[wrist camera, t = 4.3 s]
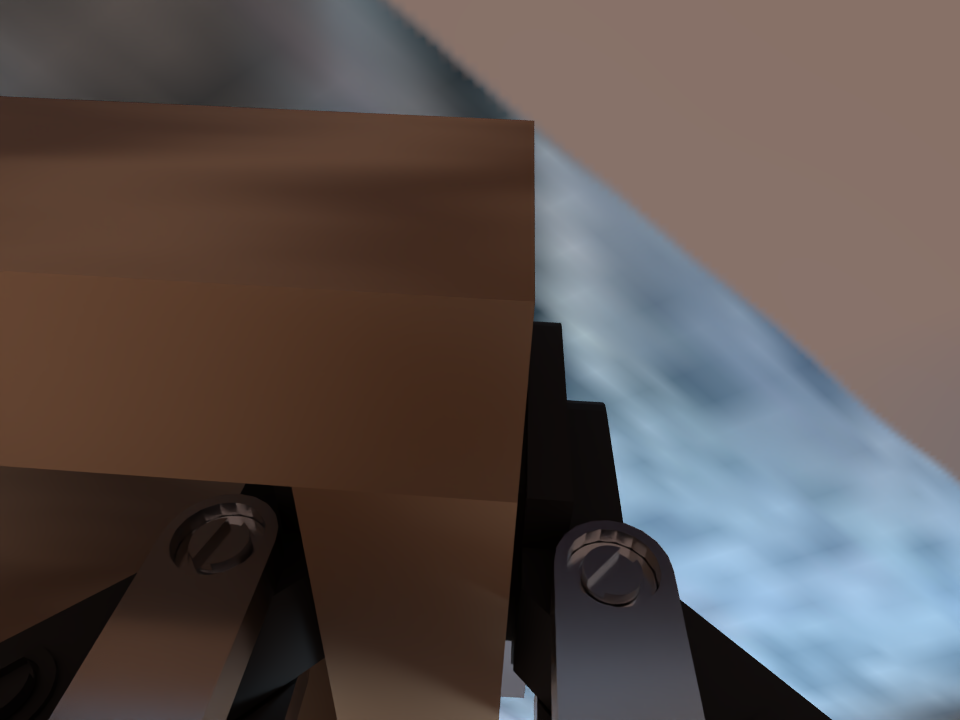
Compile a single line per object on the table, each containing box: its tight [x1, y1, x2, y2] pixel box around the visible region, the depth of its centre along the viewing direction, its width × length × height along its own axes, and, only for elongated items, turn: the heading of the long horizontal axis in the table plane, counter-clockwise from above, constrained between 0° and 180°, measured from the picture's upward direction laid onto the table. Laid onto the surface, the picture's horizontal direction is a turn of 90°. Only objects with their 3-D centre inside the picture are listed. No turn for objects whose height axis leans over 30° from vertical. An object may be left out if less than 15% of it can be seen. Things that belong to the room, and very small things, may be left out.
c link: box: [0, 96, 535, 720], centre depth 9 cm, size 14×9×5 cm, turn 88°
